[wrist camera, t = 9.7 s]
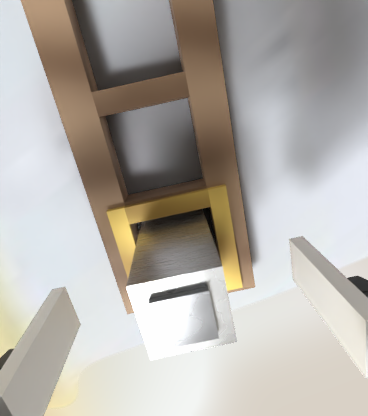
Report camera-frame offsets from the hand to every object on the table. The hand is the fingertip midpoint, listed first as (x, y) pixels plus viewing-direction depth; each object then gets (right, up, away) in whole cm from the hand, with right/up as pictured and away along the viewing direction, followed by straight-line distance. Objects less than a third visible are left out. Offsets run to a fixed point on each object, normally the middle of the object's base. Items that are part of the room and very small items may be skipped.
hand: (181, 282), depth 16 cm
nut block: (0, +2, +6) cm, 6 cm away
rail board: (-2, +8, +3) cm, 9 cm away
